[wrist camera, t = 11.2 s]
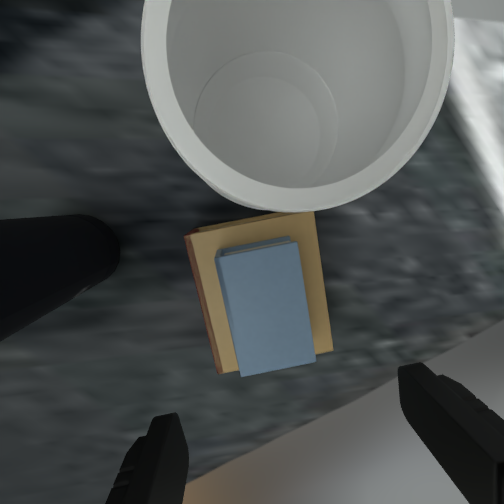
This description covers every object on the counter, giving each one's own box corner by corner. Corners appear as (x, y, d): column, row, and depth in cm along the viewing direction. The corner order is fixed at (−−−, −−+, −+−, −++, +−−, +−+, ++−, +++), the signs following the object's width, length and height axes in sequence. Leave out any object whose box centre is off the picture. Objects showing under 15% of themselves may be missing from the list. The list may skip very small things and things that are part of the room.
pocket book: (217, 249, 21) (213, 258, 18) (289, 235, 21) (297, 241, 18) (240, 353, 23) (240, 377, 20) (306, 340, 23) (316, 361, 20)
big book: (192, 228, 25) (183, 235, 20) (300, 207, 25) (313, 209, 20) (220, 345, 27) (217, 374, 23) (318, 326, 27) (333, 350, 23)
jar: (301, 66, 23) (429, -190, 8) (331, 187, 25) (478, 163, 10) (179, 103, 22) (80, -87, 8) (219, 223, 24) (199, 252, 10)
